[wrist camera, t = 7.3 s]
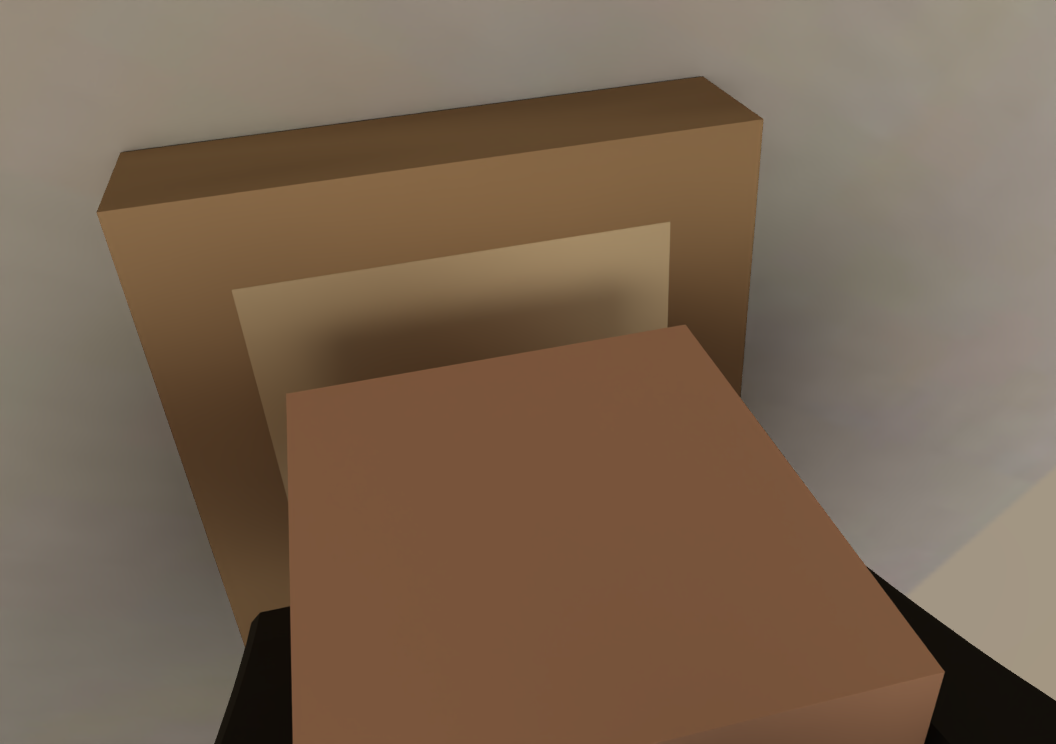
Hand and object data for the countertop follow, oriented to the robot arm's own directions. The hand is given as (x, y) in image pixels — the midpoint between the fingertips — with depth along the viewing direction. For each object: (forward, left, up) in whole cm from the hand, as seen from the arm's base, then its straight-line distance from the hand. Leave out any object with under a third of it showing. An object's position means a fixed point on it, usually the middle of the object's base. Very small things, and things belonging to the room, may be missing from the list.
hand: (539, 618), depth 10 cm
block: (0, 0, -2) cm, 2 cm away
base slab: (0, 0, -6) cm, 6 cm away
